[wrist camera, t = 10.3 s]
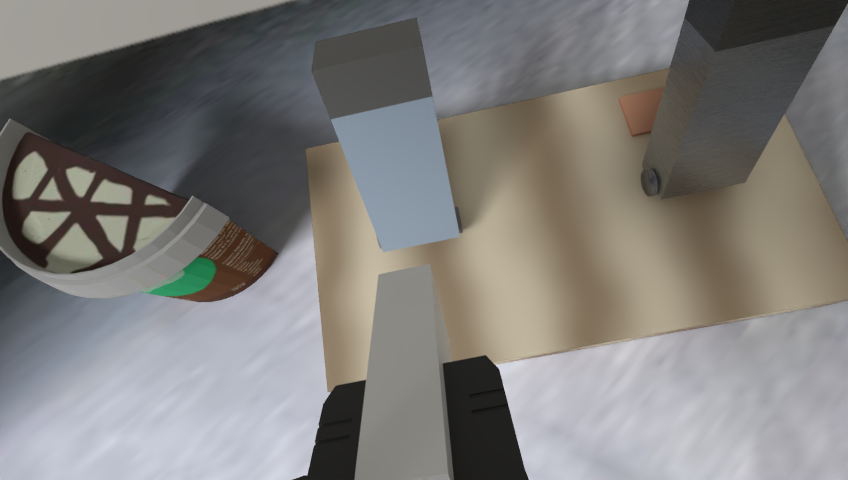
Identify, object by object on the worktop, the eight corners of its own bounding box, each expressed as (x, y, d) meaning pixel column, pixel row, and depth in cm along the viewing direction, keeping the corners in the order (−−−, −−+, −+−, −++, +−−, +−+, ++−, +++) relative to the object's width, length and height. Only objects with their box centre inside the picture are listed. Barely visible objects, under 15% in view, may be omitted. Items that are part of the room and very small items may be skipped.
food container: (97, 277, 30) (-83, 227, 21) (148, 196, 31) (1, 114, 22) (249, 354, 27) (121, 338, 18) (298, 261, 28) (203, 200, 19)
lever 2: (653, 209, 23) (730, -4, 14) (635, 175, 24) (694, -37, 16) (743, 191, 23) (877, -38, 14) (719, 158, 24) (827, -69, 15)
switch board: (345, 391, 26) (325, 392, 22) (322, 171, 30) (303, 146, 27) (828, 305, 24) (879, 292, 21) (726, 83, 28) (755, 46, 25)
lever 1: (382, 261, 24) (305, 72, 16) (381, 228, 26) (310, 42, 18) (465, 245, 24) (428, 43, 16) (458, 213, 25) (421, 16, 17)
